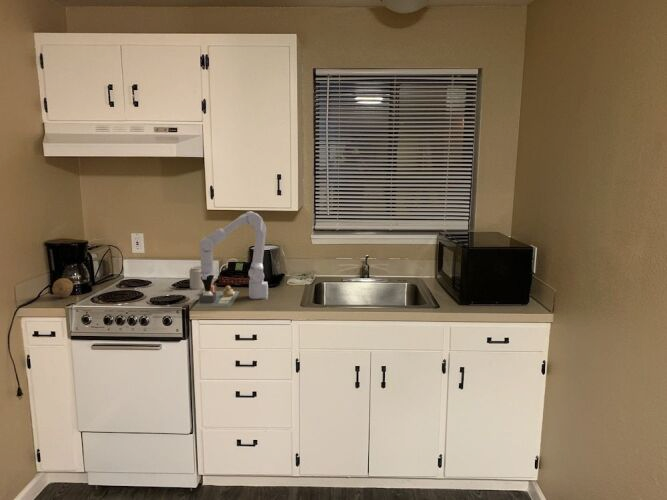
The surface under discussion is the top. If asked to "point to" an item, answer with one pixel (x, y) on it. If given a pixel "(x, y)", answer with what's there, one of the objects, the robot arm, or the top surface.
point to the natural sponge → (62, 287)
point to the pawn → (228, 292)
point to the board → (216, 299)
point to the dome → (207, 293)
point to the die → (212, 288)
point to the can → (195, 278)
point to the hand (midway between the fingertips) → (207, 290)
